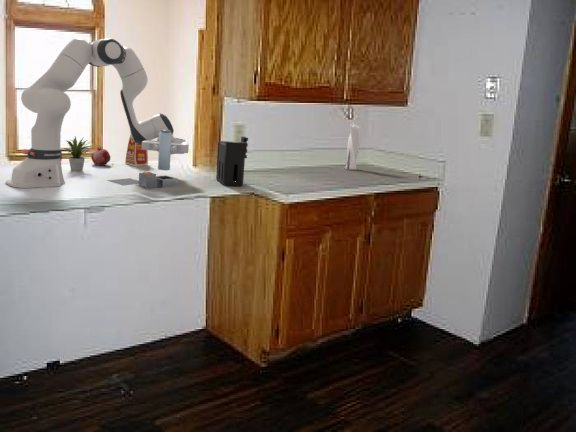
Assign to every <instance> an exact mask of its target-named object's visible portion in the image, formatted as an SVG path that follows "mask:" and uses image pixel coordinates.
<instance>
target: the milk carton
mask: <svg viewBox="0 0 576 432" xmlns="http://www.w3.org/2000/svg"><path fill="white" fill-rule="evenodd" d="M126 149H127V150H126V154H125V162H124V163H125V164H127V165H129V166H134V167H141V166H147V165H149V155H148V153H149V152H148V151H149V150H142V144H138V143H135V141H134V140H133V139H132V136H131V134H130V136H129V139H128V144H127V147H126Z"/></svg>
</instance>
